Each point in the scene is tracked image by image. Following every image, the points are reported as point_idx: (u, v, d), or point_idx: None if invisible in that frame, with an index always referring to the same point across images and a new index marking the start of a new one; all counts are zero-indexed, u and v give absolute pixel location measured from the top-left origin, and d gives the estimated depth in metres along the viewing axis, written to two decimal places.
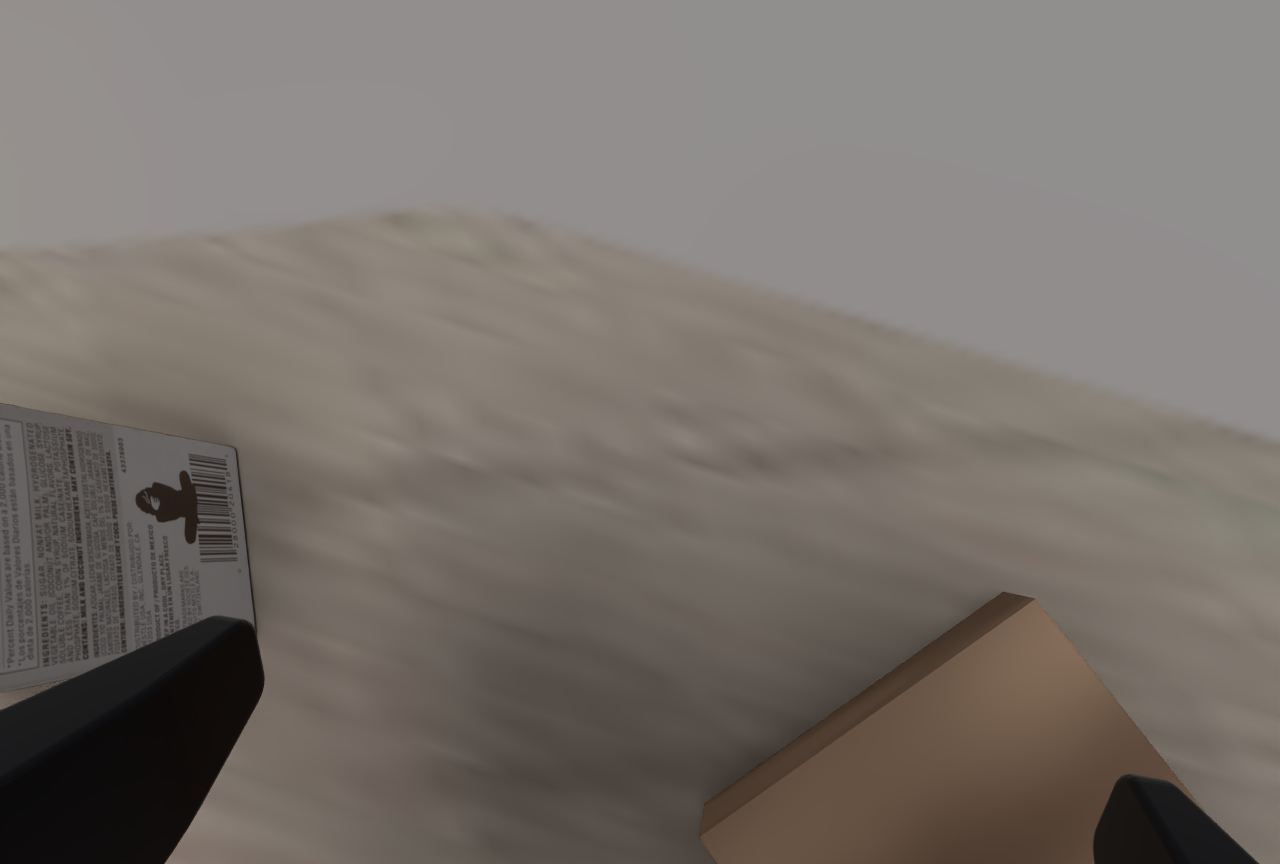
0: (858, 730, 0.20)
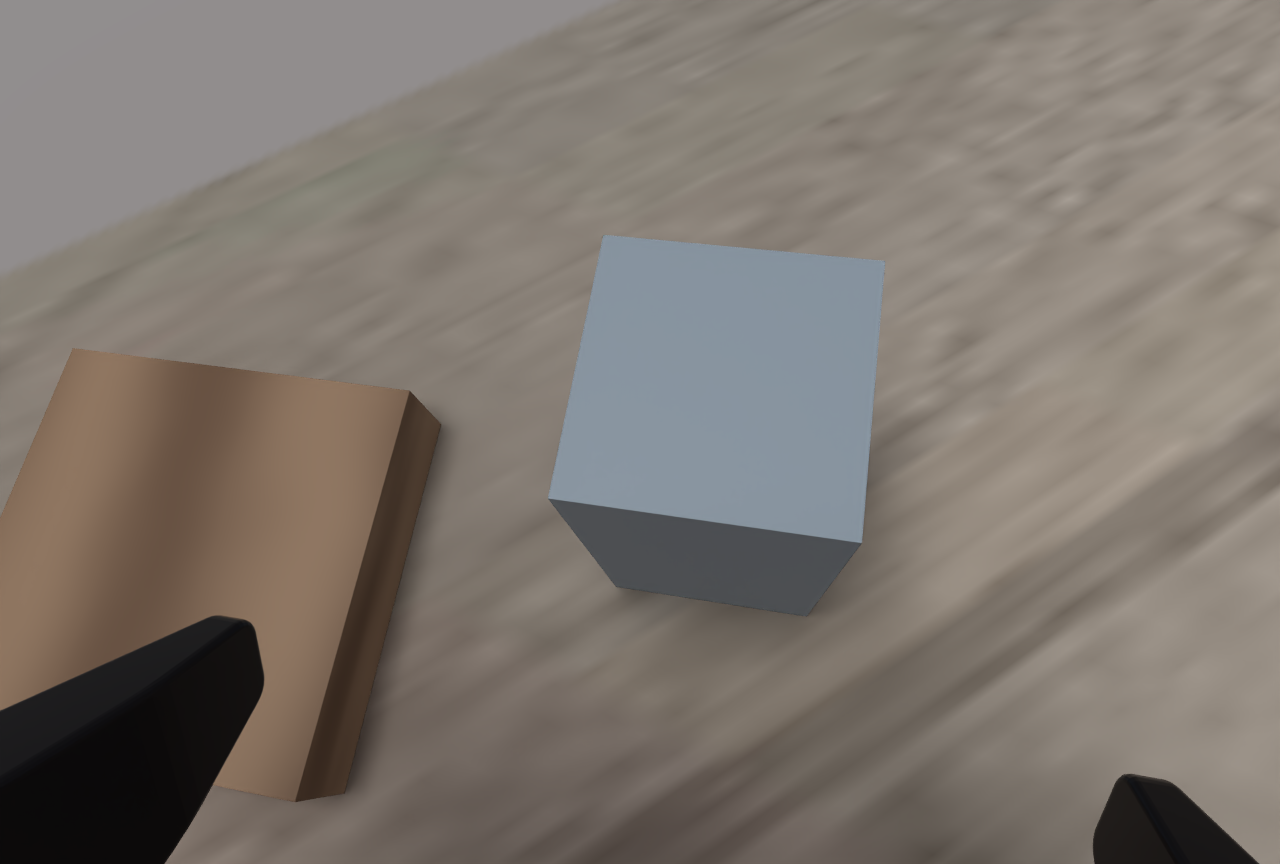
0: None
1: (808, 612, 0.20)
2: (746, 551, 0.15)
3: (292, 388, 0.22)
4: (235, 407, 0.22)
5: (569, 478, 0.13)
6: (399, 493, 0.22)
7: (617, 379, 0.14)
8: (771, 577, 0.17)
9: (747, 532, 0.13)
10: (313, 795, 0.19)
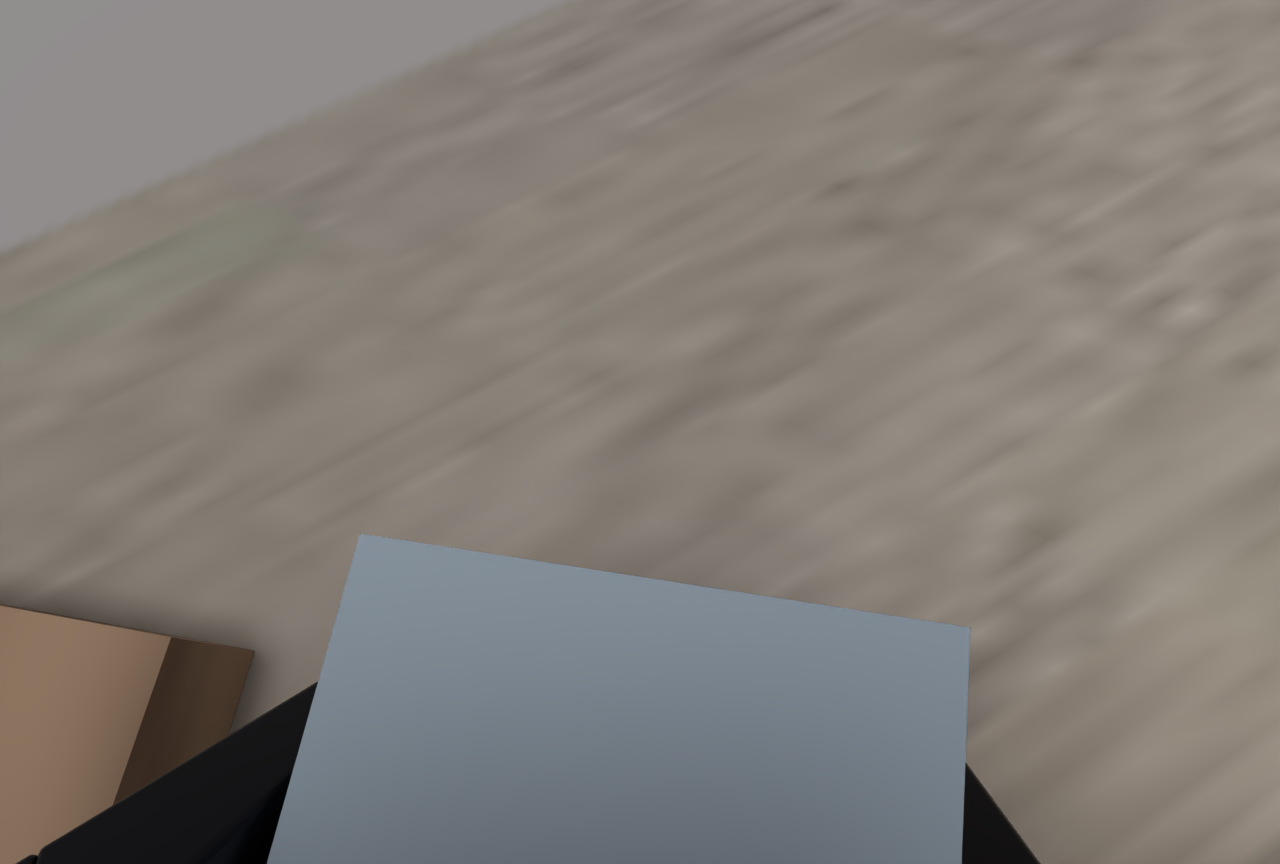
0: None
1: None
2: None
3: None
4: None
5: None
6: None
7: None
8: None
9: None
10: None
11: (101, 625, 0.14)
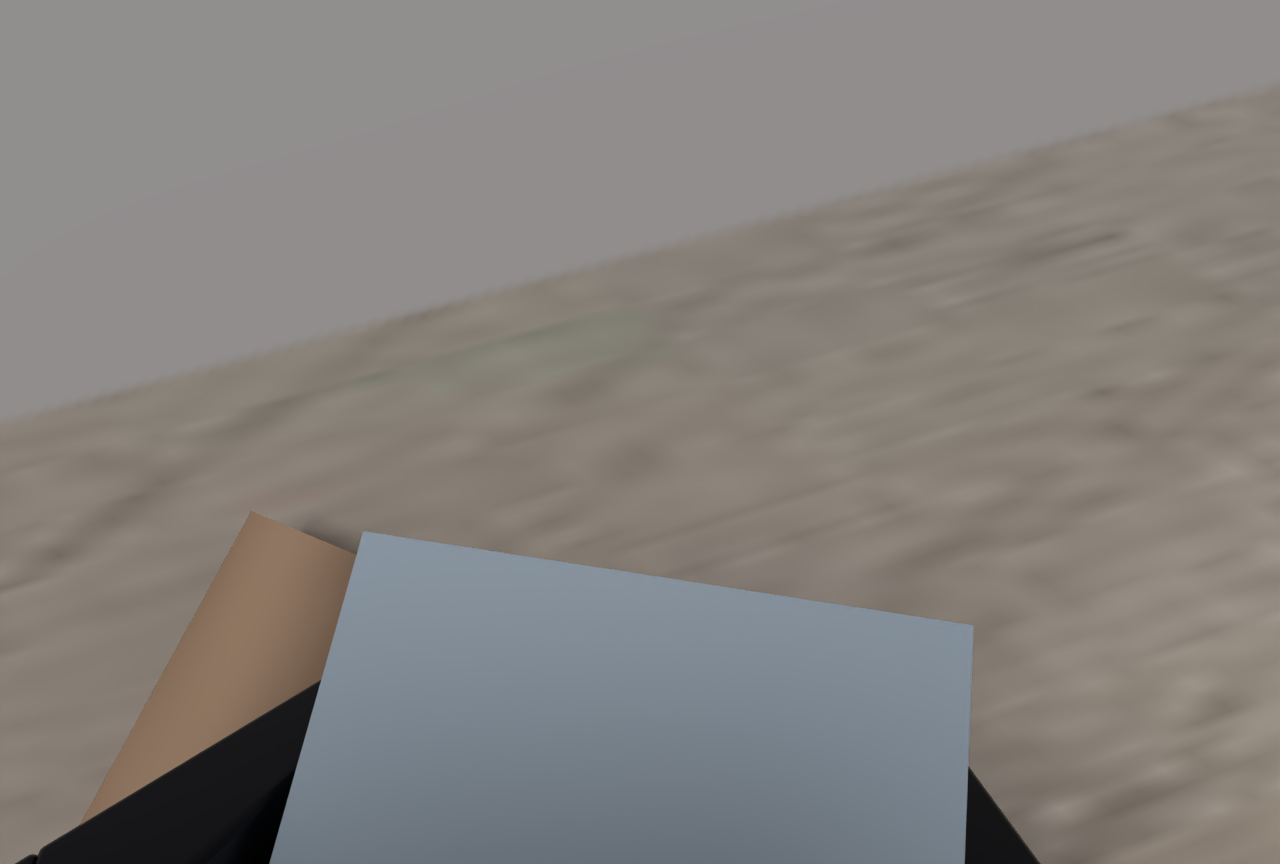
0: (147, 711, 0.20)
1: None
2: None
3: None
4: None
5: None
6: None
7: None
8: None
9: None
10: None
11: None
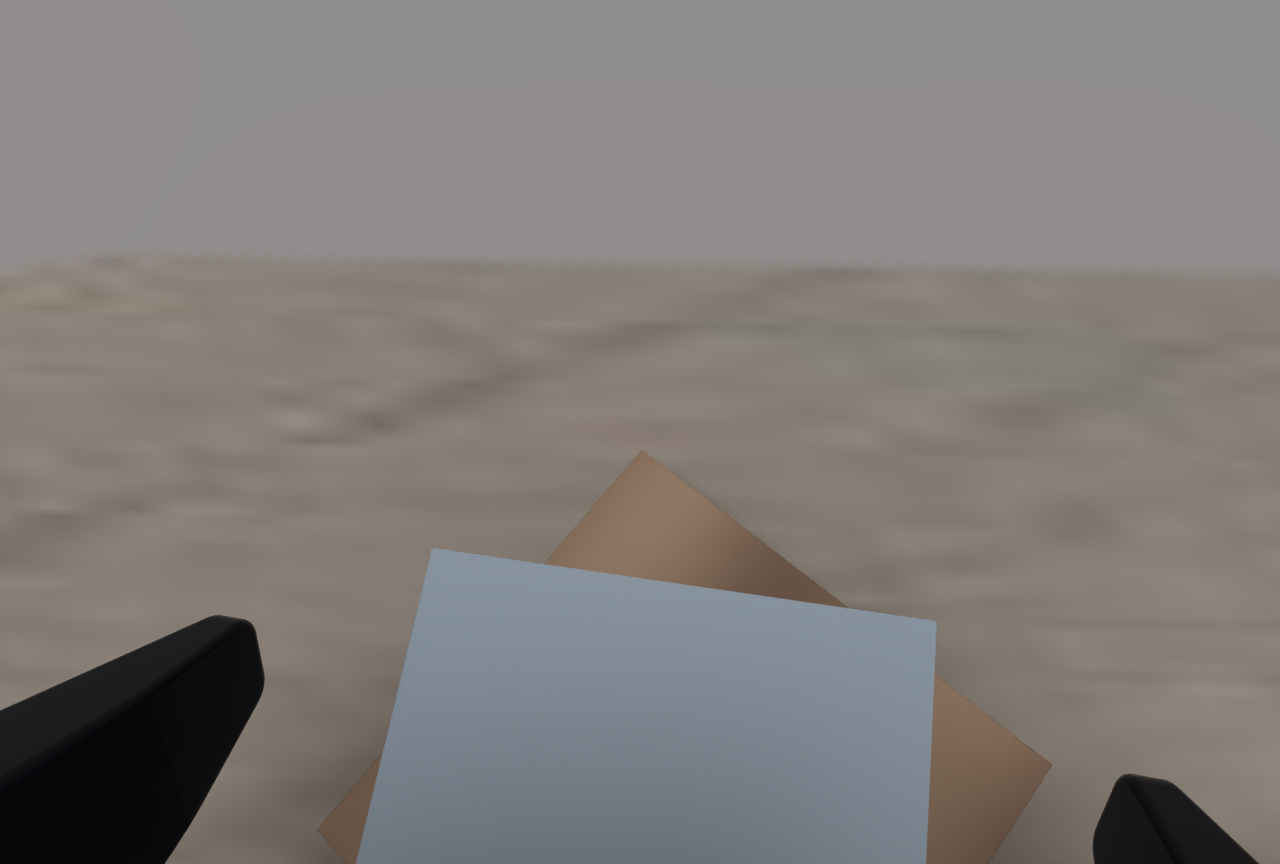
0: None
1: None
2: None
3: None
4: None
5: None
6: None
7: (438, 861, 0.07)
8: None
9: None
10: None
11: (990, 718, 0.16)
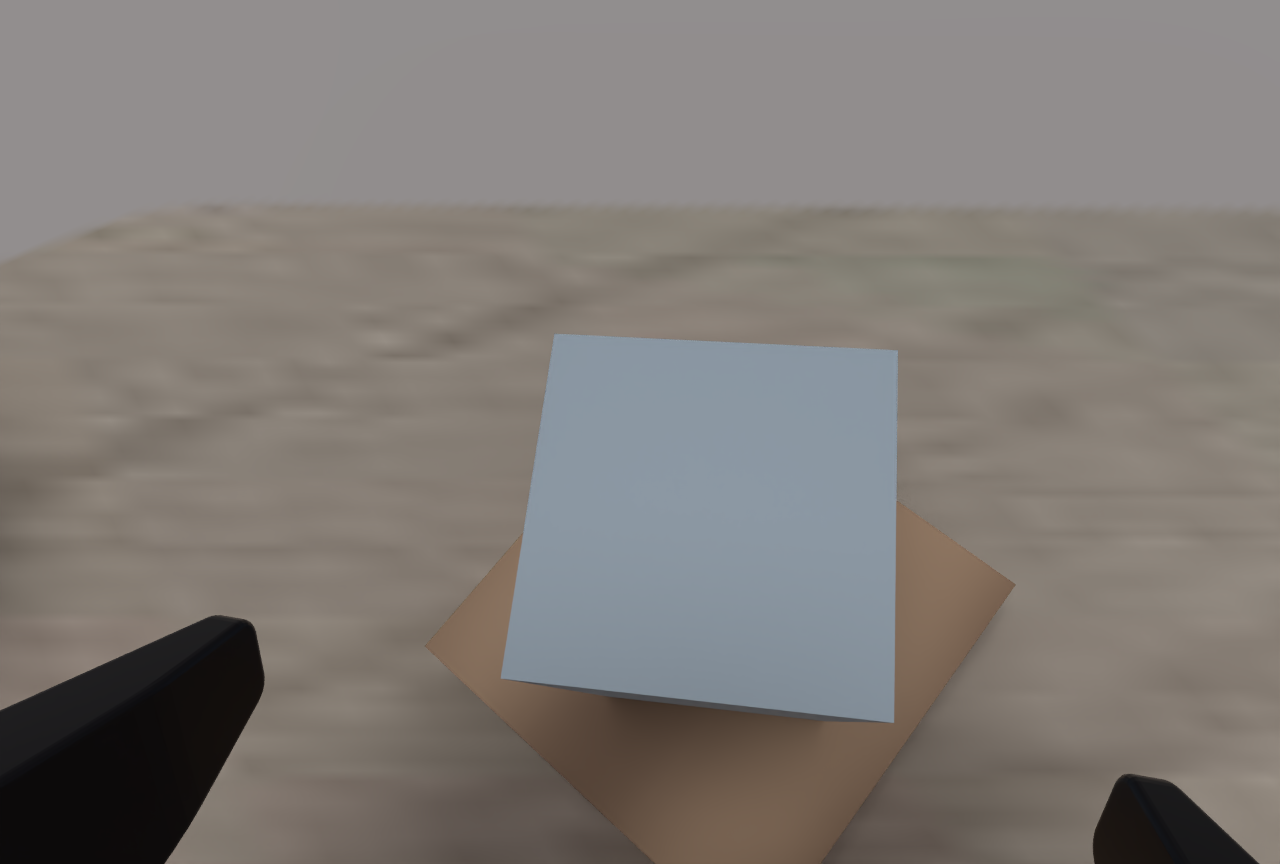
0: None
1: None
2: (750, 709, 0.12)
3: None
4: None
5: (525, 651, 0.11)
6: None
7: (579, 518, 0.11)
8: None
9: (750, 707, 0.11)
10: None
11: (966, 550, 0.19)
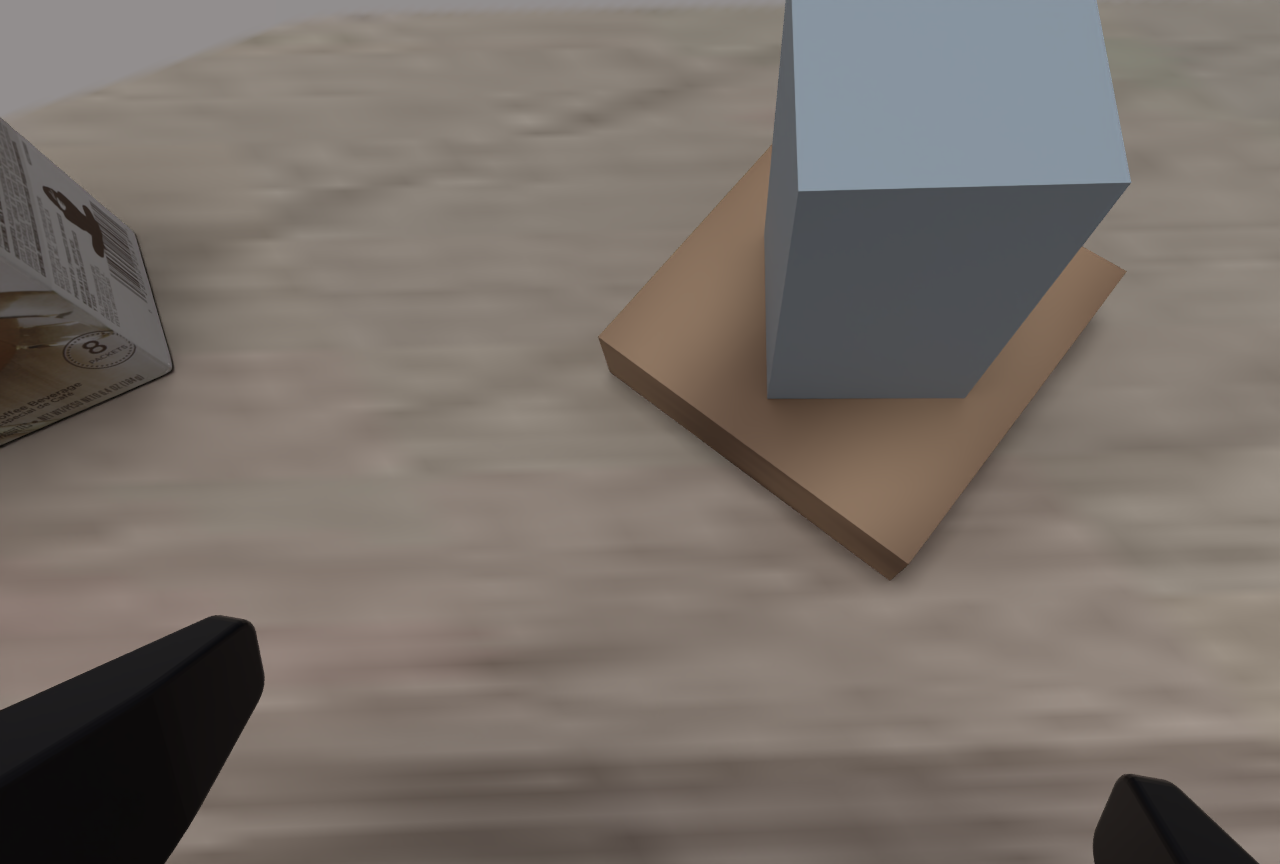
0: (707, 222, 0.24)
1: (972, 386, 0.20)
2: (976, 251, 0.14)
3: None
4: None
5: (815, 170, 0.13)
6: None
7: (840, 76, 0.14)
8: (972, 311, 0.17)
9: (1004, 201, 0.13)
10: (903, 567, 0.21)
11: None
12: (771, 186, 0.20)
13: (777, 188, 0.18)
